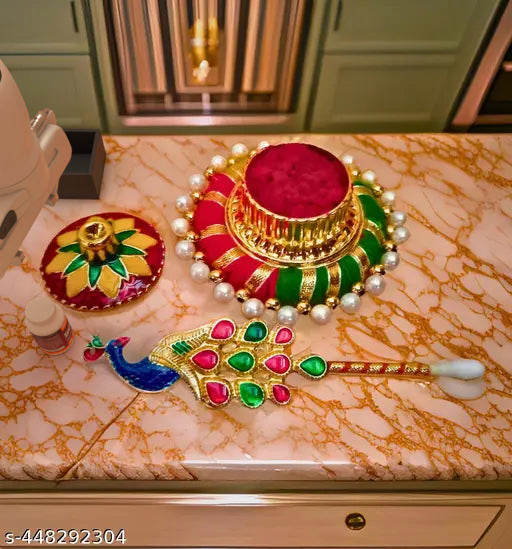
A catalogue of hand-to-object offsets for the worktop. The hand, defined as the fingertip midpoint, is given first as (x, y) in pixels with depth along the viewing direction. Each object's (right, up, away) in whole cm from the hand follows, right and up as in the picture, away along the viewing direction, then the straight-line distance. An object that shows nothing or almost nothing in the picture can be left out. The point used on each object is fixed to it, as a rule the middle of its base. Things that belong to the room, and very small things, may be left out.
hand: (34, 229), depth 75 cm
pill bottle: (-6, -17, +25) cm, 31 cm away
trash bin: (-9, +15, +45) cm, 49 cm away
